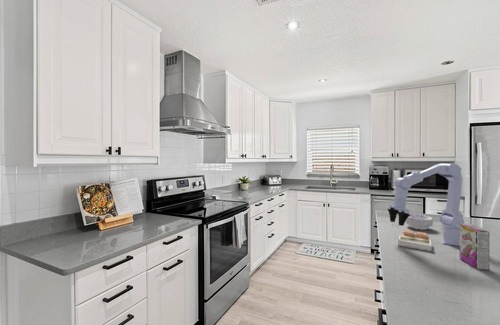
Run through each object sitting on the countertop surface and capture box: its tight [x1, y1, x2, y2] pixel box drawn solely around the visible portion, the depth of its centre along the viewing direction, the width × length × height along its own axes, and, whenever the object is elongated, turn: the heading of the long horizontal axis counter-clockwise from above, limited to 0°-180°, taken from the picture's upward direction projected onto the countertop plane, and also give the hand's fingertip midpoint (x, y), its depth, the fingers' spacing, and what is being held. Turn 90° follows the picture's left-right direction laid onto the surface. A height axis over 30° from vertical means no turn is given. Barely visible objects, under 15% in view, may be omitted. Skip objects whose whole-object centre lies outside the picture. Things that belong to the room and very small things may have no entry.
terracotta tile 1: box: [415, 231, 428, 239], centre depth 137 cm, size 5×5×2 cm
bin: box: [397, 234, 433, 252], centre depth 129 cm, size 14×12×3 cm
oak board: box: [400, 231, 430, 243], centre depth 138 cm, size 13×11×2 cm
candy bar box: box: [459, 223, 490, 271], centre depth 105 cm, size 11×5×16 cm, turn 168°
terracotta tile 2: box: [402, 229, 415, 237], centre depth 141 cm, size 5×5×2 cm
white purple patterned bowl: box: [404, 213, 434, 231], centre depth 163 cm, size 15×15×8 cm
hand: (396, 223), depth 133 cm, fingers open, 7 cm apart
